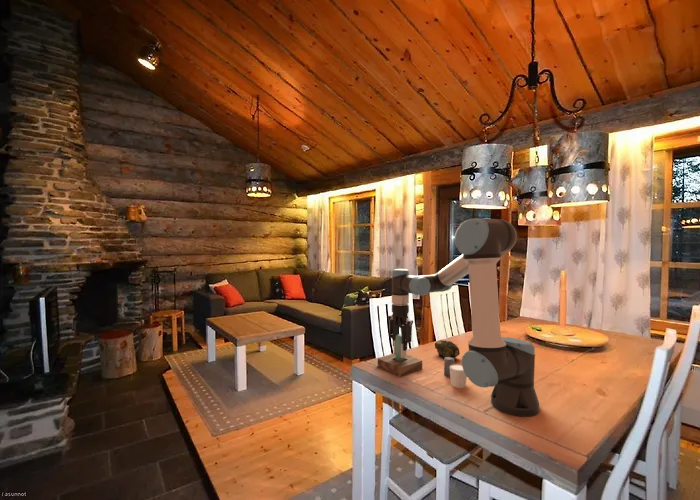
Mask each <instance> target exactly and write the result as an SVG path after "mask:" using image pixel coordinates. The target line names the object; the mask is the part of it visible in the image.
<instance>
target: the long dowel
mask: <svg viewBox="0 0 700 500" xmlns="http://www.w3.org/2000/svg"><path fill="white" fill-rule="evenodd" d="M401 342H402V335H401V333H398V334H397V335H396V342H395V361H397V362H403V361H404V358H401Z"/></svg>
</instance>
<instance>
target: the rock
mask: <svg viewBox="0 0 700 500" xmlns="http://www.w3.org/2000/svg"><path fill="white" fill-rule="evenodd" d="M434 349H436V350H437V354H438V355H439V356H442V357H443V358H446V357H451V358H454V359H455V358H457V357H458V356H460V353H461V352H460V348H459V347H458V345H456V344H455V343H453V341H450V340H443V339H442V340H441V339H440V340H437V341H436V342H435V343H434Z"/></svg>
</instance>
